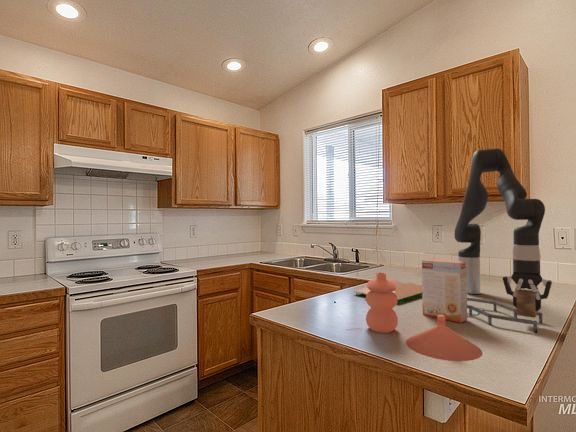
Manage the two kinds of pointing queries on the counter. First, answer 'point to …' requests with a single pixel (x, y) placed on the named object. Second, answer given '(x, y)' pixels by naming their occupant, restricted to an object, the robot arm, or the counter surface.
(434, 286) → the cracker box
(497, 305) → the wire channel
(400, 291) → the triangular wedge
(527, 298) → the walnut block
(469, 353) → the ceramic vessels
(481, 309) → the mat
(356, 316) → the counter surface
